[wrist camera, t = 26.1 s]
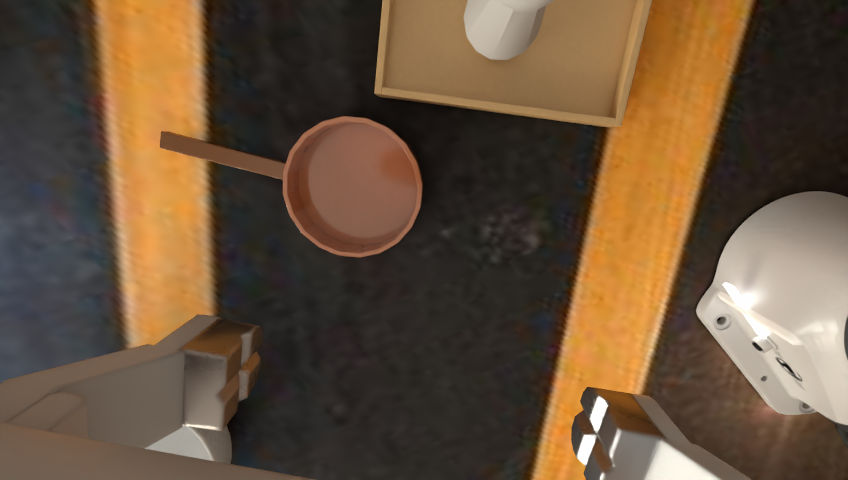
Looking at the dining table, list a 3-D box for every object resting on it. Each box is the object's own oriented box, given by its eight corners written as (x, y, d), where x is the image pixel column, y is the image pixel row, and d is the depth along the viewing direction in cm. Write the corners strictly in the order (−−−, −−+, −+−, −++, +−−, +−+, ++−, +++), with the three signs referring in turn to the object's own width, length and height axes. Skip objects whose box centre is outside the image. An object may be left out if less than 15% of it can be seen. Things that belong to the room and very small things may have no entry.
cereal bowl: (134, 491, 46) (81, 553, 39) (74, 367, 42) (3, 412, 35) (271, 470, 44) (240, 530, 37) (222, 339, 40) (177, 380, 33)
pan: (446, 208, 36) (447, 214, 33) (341, 269, 38) (333, 279, 35) (378, 92, 34) (373, 87, 31) (270, 162, 36) (255, 164, 33)
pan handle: (293, 164, 34) (289, 164, 33) (290, 180, 34) (286, 180, 33) (167, 131, 33) (160, 131, 32) (166, 147, 34) (159, 147, 33)
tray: (654, -62, 30) (671, -78, 28) (609, 127, 34) (621, 126, 31) (396, -96, 30) (393, -115, 28) (378, 96, 34) (374, 93, 32)
